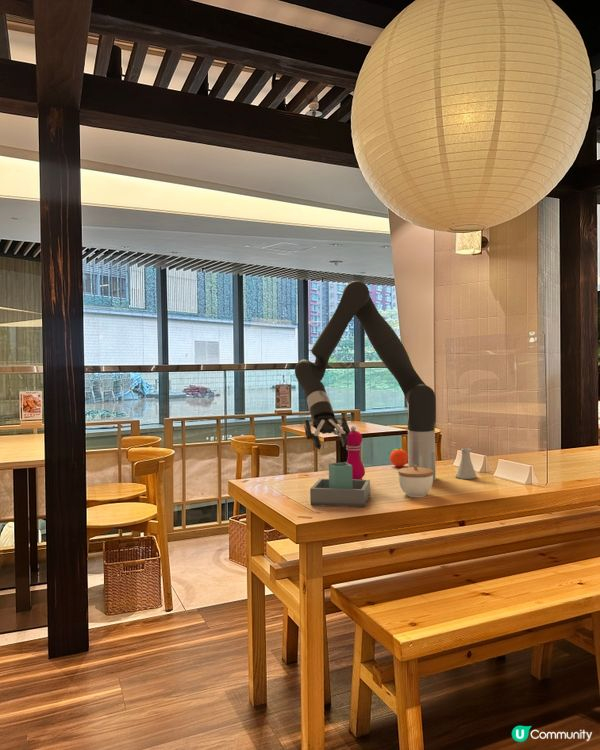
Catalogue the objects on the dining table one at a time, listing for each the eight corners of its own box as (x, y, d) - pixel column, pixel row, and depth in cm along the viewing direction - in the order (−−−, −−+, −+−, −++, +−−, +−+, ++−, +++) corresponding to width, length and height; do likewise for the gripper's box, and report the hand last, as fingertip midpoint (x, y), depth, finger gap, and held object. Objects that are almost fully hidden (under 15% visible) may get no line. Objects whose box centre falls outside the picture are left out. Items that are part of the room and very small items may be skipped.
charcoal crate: (370, 495, 187) (369, 479, 187) (364, 507, 173) (364, 490, 173) (320, 494, 191) (319, 478, 190) (310, 505, 177) (310, 488, 177)
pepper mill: (364, 487, 198) (362, 427, 197) (342, 487, 199) (341, 427, 198) (366, 482, 205) (365, 424, 204) (345, 482, 206) (343, 424, 206)
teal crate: (346, 494, 185) (345, 462, 185) (352, 498, 180) (352, 465, 180) (329, 495, 184) (328, 463, 183) (335, 500, 178) (334, 466, 178)
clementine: (385, 467, 231) (384, 449, 231) (390, 464, 237) (390, 446, 237) (405, 468, 227) (404, 450, 227) (410, 465, 233) (410, 447, 233)
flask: (480, 477, 210) (480, 448, 210) (471, 480, 205) (471, 451, 204) (461, 474, 215) (460, 446, 214) (451, 478, 209) (451, 449, 209)
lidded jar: (399, 499, 182) (398, 468, 181) (398, 490, 192) (397, 462, 192) (435, 499, 180) (434, 468, 180) (432, 491, 191) (431, 462, 191)
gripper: (301, 401, 195) (313, 441, 184) (342, 399, 199) (356, 437, 188) (297, 416, 200) (308, 455, 189) (337, 413, 204) (350, 452, 193)
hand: (332, 446), depth 189 cm, fingers open, 8 cm apart
